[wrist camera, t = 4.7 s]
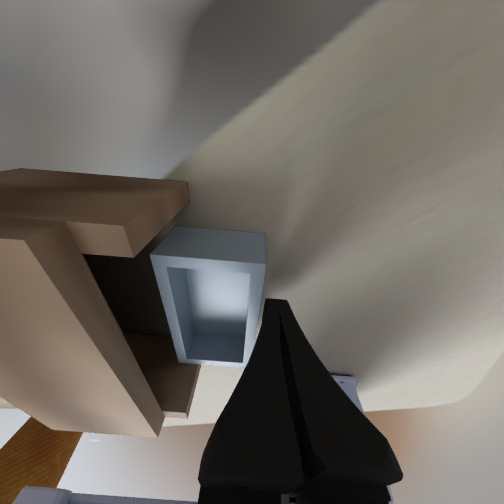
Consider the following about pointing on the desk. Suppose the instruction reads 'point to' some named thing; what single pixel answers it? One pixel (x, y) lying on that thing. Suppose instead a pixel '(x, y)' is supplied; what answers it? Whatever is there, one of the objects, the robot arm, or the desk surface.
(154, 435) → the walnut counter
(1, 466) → the disposable coffee cup
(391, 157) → the desk surface
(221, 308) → the grey tray
